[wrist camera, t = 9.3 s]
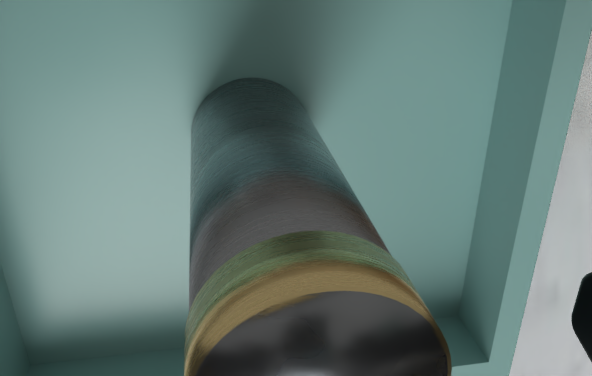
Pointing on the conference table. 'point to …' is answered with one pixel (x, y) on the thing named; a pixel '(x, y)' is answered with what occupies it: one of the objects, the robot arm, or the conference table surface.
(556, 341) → the conference table surface
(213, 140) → the steel pin
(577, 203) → the conference table surface
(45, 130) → the tray
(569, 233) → the conference table surface
